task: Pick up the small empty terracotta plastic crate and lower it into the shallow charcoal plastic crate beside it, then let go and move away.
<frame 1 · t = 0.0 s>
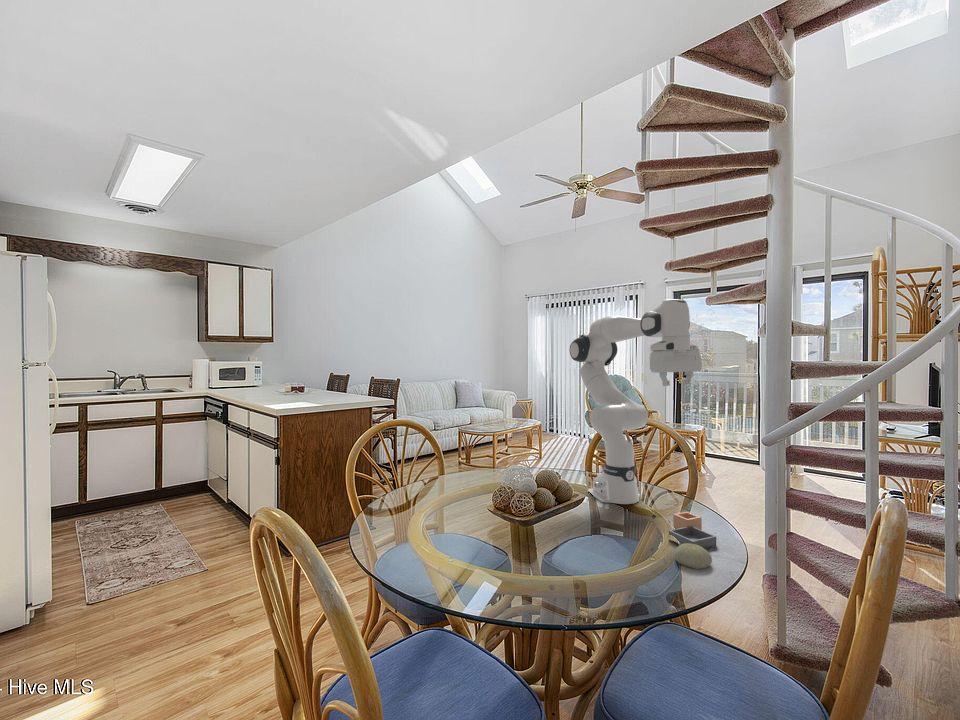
hand: (676, 385, 152), 48 cm above the table, tool pointing down, fingers open, 8 cm apart
sea urchin shell: (692, 564, 123), on the table
terracotta crate: (687, 530, 146), on the table
charcoal crate: (692, 543, 136), on the table
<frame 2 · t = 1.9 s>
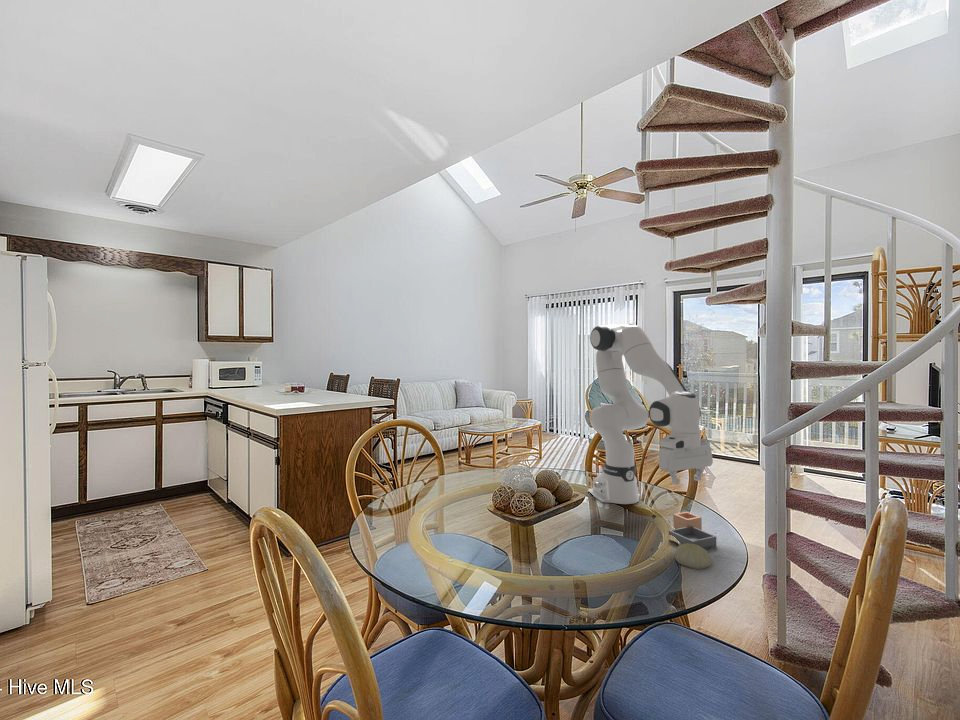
hand: (686, 482, 146), 16 cm above the table, tool pointing down, fingers open, 8 cm apart
nothing on the table moved.
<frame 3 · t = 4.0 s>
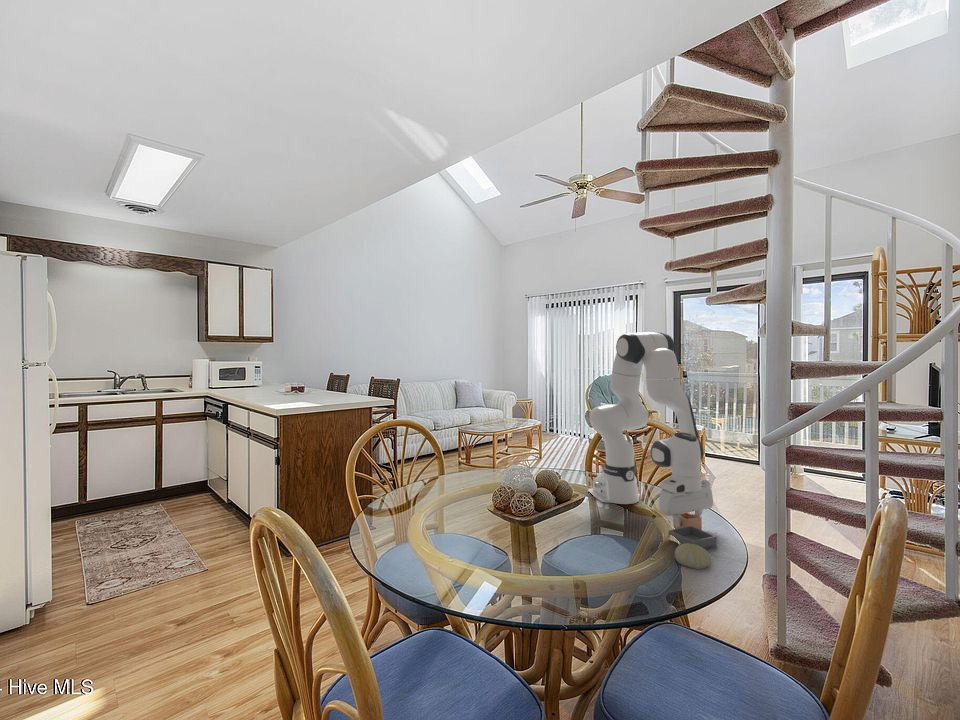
hand: (687, 524, 146), 2 cm above the table, tool pointing down, fingers closed on terracotta crate, 6 cm apart
terracotta crate: (687, 530, 146), on the table, touching gripper
everything else where it was.
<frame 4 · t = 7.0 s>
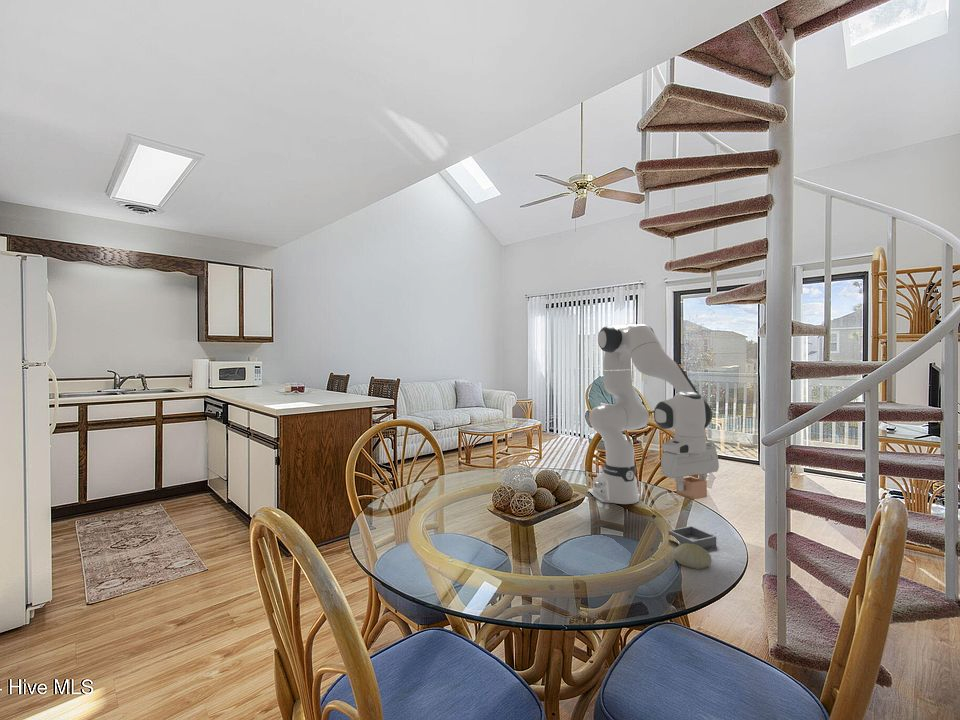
hand: (691, 488, 137), 17 cm above the table, tool pointing down, fingers closed on terracotta crate, 6 cm apart
terracotta crate: (691, 495, 136), point 15 cm above the table, touching gripper
everything else where it was.
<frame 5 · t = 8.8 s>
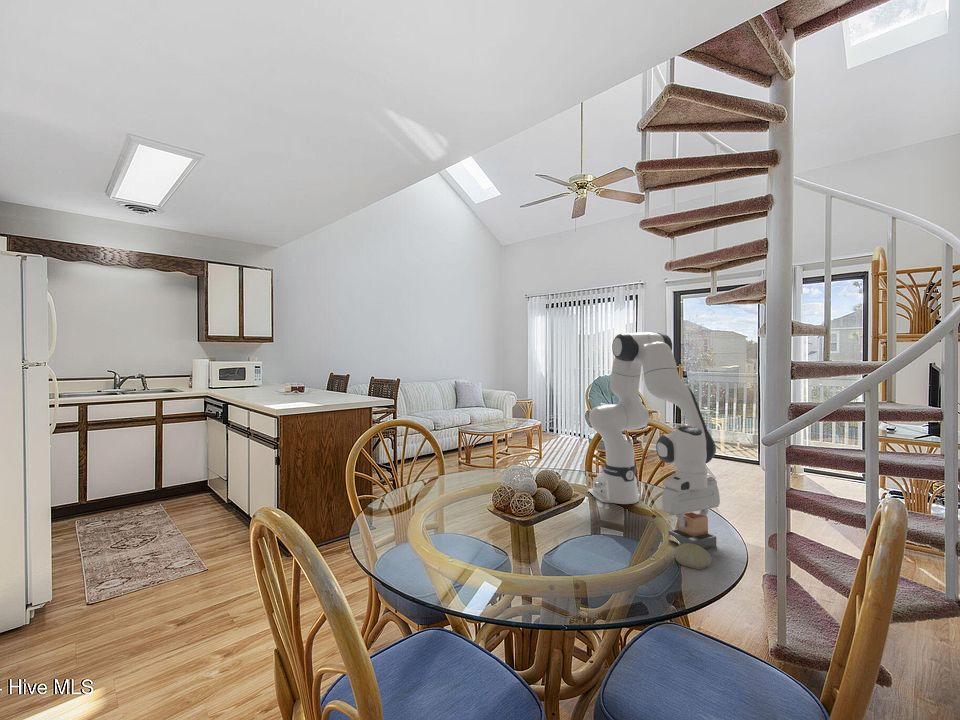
hand: (692, 524, 136), 6 cm above the table, tool pointing down, fingers closed on terracotta crate, 6 cm apart
terracotta crate: (692, 531, 136), point 4 cm above the table, touching gripper
everything else where it was.
when the fingers open (4 cm above the table, at t = 10.1 s): terracotta crate drops 1 cm, resting on charcoal crate.
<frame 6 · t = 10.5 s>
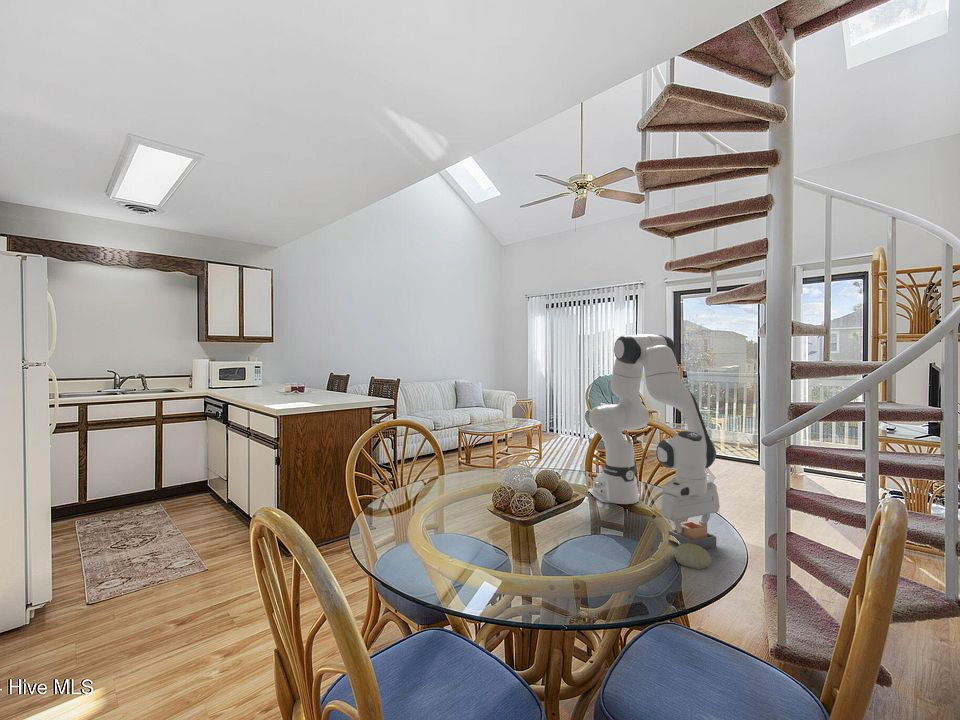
hand: (691, 529, 137), 4 cm above the table, tool pointing down, fingers open, 8 cm apart
terracotta crate: (692, 541, 136), resting on charcoal crate
everything else where it was.
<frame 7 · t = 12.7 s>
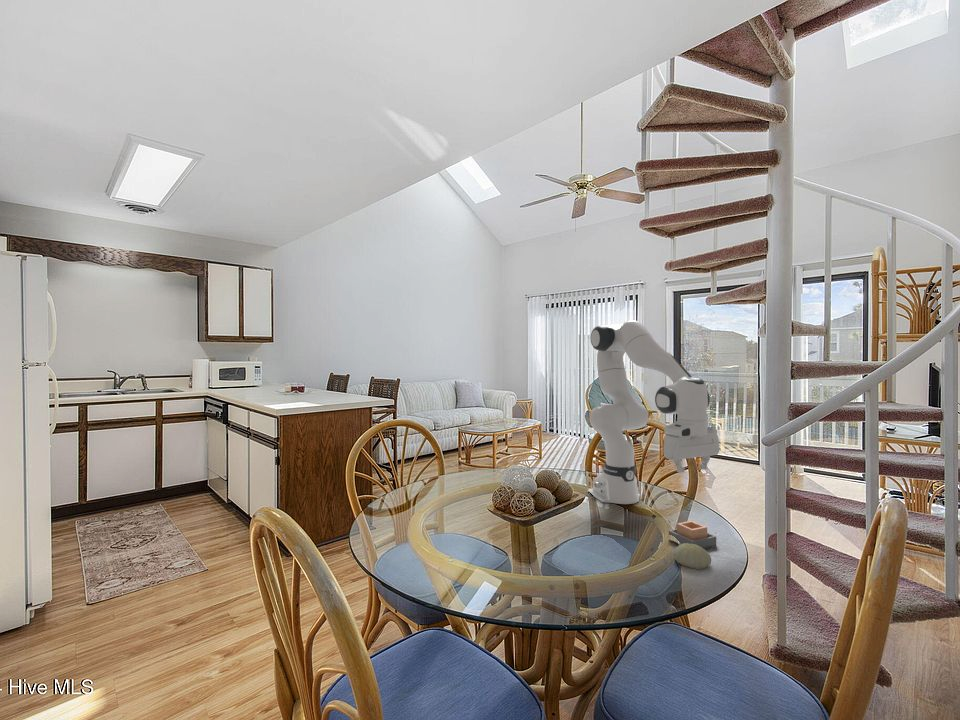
hand: (692, 470, 142), 21 cm above the table, tool pointing down, fingers open, 8 cm apart
nothing on the table moved.
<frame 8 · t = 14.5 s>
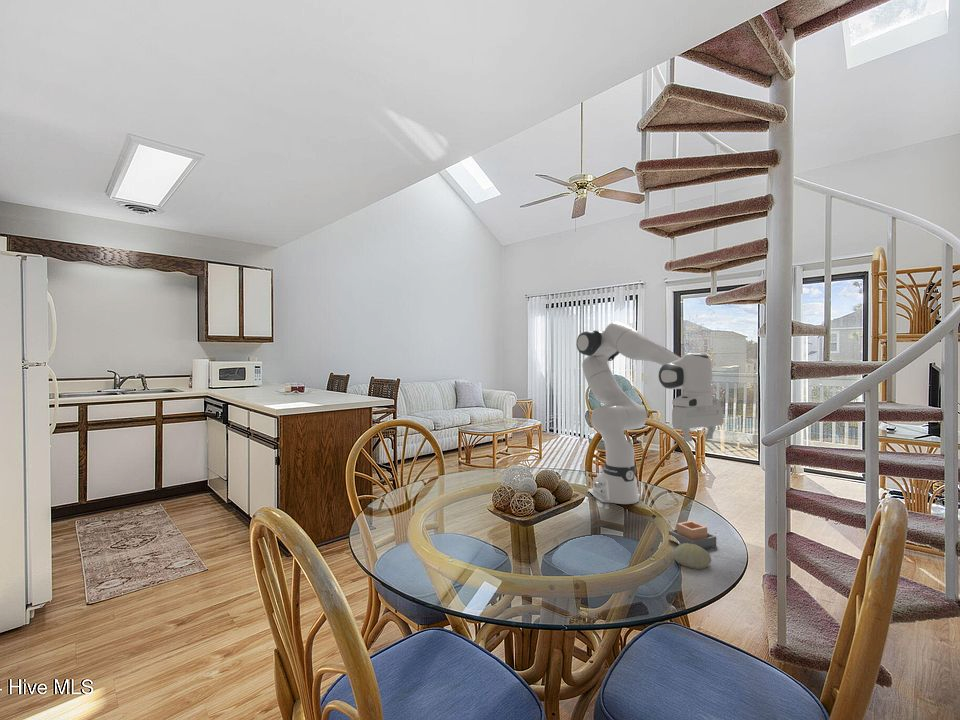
hand: (698, 440, 151), 29 cm above the table, tool pointing down, fingers open, 8 cm apart
nothing on the table moved.
at the end: terracotta crate 0.0 cm off-centre on the charcoal crate, point 0.5 cm above the charcoal crate's base; terracotta crate tilted 0°; the gripper is holding nothing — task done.
